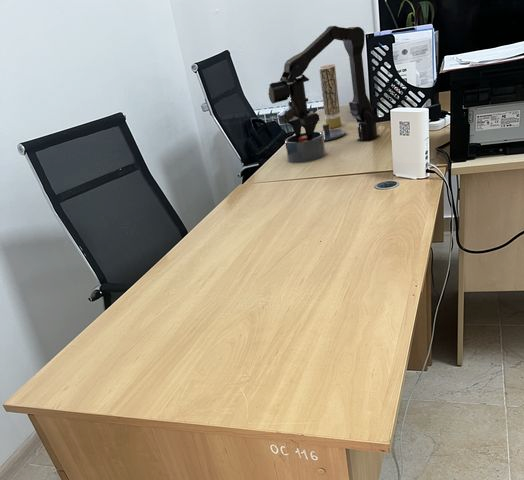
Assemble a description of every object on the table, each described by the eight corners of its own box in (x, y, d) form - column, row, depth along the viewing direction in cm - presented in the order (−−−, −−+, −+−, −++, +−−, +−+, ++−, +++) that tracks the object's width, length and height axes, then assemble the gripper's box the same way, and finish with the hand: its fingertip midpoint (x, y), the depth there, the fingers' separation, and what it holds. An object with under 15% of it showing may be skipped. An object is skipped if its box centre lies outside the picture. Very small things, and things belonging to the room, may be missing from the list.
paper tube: (340, 127, 243) (334, 65, 229) (325, 129, 245) (318, 68, 231) (341, 123, 248) (335, 63, 235) (327, 126, 250) (319, 66, 236)
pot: (328, 149, 216) (325, 129, 212) (321, 160, 204) (319, 139, 200) (293, 153, 220) (290, 134, 216) (284, 164, 209) (281, 144, 205)
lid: (348, 130, 236) (347, 117, 233) (342, 139, 224) (341, 126, 221) (312, 134, 241) (311, 122, 238) (305, 144, 229) (303, 131, 226)
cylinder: (314, 153, 212) (312, 135, 208) (307, 157, 210) (305, 138, 206) (305, 153, 215) (303, 135, 211) (298, 157, 212) (296, 138, 209)
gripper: (268, 100, 206) (275, 142, 214) (289, 104, 191) (296, 149, 199) (293, 93, 209) (300, 135, 217) (317, 96, 194) (322, 141, 202)
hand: (304, 140), depth 209 cm, fingers open, 9 cm apart
